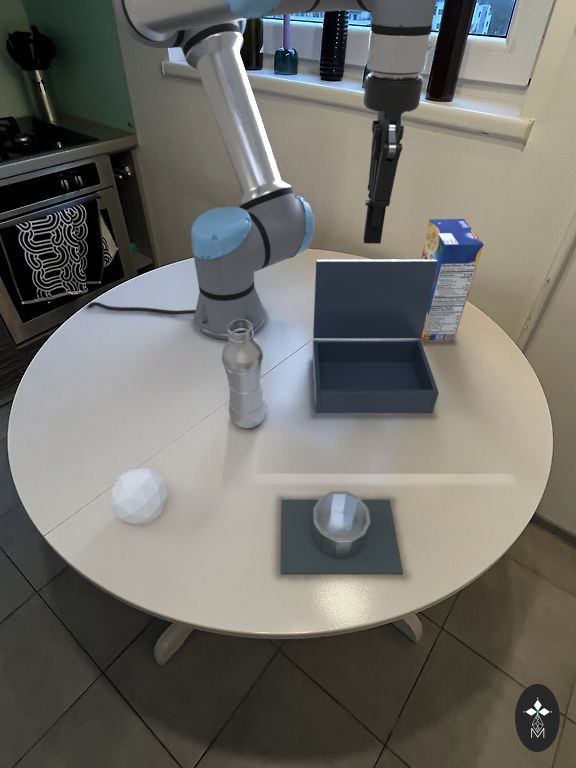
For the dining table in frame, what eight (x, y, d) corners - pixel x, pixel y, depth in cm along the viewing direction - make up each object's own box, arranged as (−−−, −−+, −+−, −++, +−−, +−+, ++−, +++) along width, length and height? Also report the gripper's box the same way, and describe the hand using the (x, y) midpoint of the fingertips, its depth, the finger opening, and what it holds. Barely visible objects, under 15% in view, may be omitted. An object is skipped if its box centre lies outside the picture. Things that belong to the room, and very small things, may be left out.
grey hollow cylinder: (313, 560, 60) (314, 541, 57) (311, 510, 66) (312, 491, 62) (368, 560, 60) (373, 541, 57) (362, 510, 66) (366, 491, 62)
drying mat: (280, 574, 59) (280, 572, 59) (281, 501, 67) (281, 499, 67) (402, 574, 59) (403, 572, 59) (389, 501, 67) (389, 499, 67)
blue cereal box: (420, 343, 95) (445, 245, 80) (408, 313, 103) (429, 219, 88) (453, 342, 95) (483, 244, 80) (438, 313, 103) (464, 218, 88)
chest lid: (438, 261, 76) (436, 259, 77) (316, 261, 76) (315, 259, 77) (421, 338, 86) (420, 336, 86) (313, 338, 86) (313, 336, 87)
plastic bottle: (272, 410, 81) (269, 317, 67) (258, 437, 76) (251, 344, 63) (239, 401, 82) (229, 309, 69) (223, 428, 78) (209, 335, 64)
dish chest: (431, 416, 80) (439, 392, 76) (315, 416, 80) (316, 392, 76) (414, 362, 90) (420, 339, 86) (311, 362, 90) (313, 339, 87)
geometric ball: (135, 519, 68) (99, 482, 65) (178, 486, 69) (145, 448, 66) (133, 547, 61) (93, 506, 58) (181, 510, 62) (144, 468, 59)
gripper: (433, 83, 55) (399, 260, 71) (415, 64, 64) (389, 225, 81) (371, 83, 55) (352, 259, 71) (362, 64, 65) (347, 224, 81)
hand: (371, 241), depth 76 cm, fingers closed
